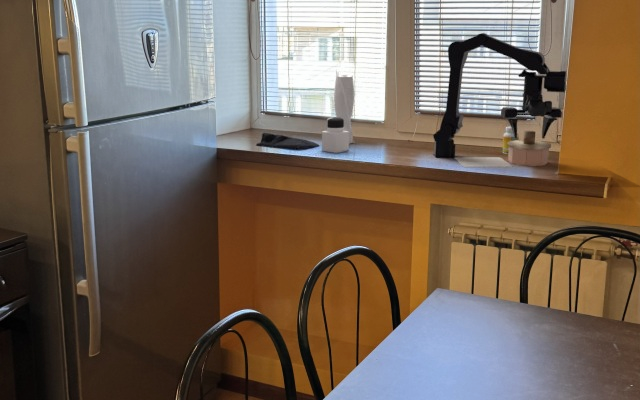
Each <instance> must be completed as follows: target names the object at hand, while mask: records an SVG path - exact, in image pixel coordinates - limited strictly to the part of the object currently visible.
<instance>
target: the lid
mask: <svg viewBox="0 0 640 400" xmlns="http://www.w3.org/2000/svg"><path fill="white" fill-rule="evenodd" d="M523 132H524V133H523V139H520V140H515V141H509V142H507V146H509V147H512V148H517V149H527V150H542V149H549V150H550V149H551V147H552V143H549V142H546V141H543V140H542V141H541V140H536V131H534V130H524V131H523Z"/></svg>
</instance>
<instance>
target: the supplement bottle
mask: <svg viewBox="0 0 640 400" xmlns="http://www.w3.org/2000/svg"><path fill="white" fill-rule="evenodd" d="M502 139H503V140H502V153H503V154H506V155H508V154H509V146H507V142H509V141H515V140H519V139H520V135H519V133H518V132H517V139H515V138H514V135H513V131H512V128H511V126H505V133H503V136H502Z"/></svg>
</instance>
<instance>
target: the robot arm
mask: <svg viewBox="0 0 640 400" xmlns="http://www.w3.org/2000/svg"><path fill="white" fill-rule="evenodd" d="M480 47H484V48H485V49H488V50H491V51H493V52H496V53H498V54H500V55H503V56H505V57H508V58H509V59H510V58H511V59H512V60H514V61H515V62H517V63H518V64H519V65H521V66H522V67H525V69H523V70H522V71H521V72H520V73H519V74H518V77H519V78H524V80H523V93H522V105H521V109H517V108H516V107H514V106H513V107H511V106H510V107H509V106H503V107H502V108H501V110H500V116H501V117H503V118H504V119H505V120H507V121H508V123H509V125H510V127H511V128H512V131H513V135H514V138H515V139H517V133H518V121H519V119H518V118H517V116H530V117H533V118H535V117H542V129H541V138H542V139H543V140H544V139H545V138H546V136H547V134H548V131H549V128H550V127H551V125H552V123H553V122H554V121H557V120H558V119H559V118H560V119H561V118H562V116H563V111H562V109H561V108H558V107H556V106H555V107H553V102H552V101H551V100H545V101H544V100H543V97H544V96H543V95H542V94H543V91H542V90H543V89H545V90H546V92H547V93H566V92H565V91H567V85H566V81H567V71H566V70H561V71H559V70H553V71H552V70H550V68H549V67H548V65H547V64H546V63H545V62H546V59H545V55H544V54H543V53H541V52H539V51H535V50H531V49H525V48H521V47H518V46H515V45H512V44H510V43H508V42H505V41H503V40H500V39H498V38H496V37H493V36H490V35H489V34H488V33H485V32H482V33H478V34H477V35H475V36H473V37H469V38H468V39H464V40H456V41H452V42H451V43H450V44H449V45H448V47H447V55H448V58H447V59H448V63H449V64H448V65H449V77H448V88H447V97H446V107H445V111H444V114H443V117H442V119H441V121H440V122H441V123H440V126H439V129H438V130H437V131H436V132H435V133H434V134H433V135H432V136H433V140H434V145H433V154H432V156H434V158H436V159H453V158H454V159H455V156H456V144H455V140H454V139H455V136H456V135H457V134H458V133H459V132H460V130H461V128H464V127H463V120H464V114H461V115H460V110H459V109H460V100H461V89H462V83H463V82H462V80H463V72H464V67H465V65H466V62H467V59H468V55H469V53H470V52H471V51H473V50H475V49H478V48H480ZM527 70H529V71H527ZM537 73H538V74H537Z"/></svg>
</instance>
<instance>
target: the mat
mask: <svg viewBox="0 0 640 400" xmlns="http://www.w3.org/2000/svg"><path fill="white" fill-rule="evenodd" d="M454 160H455V161H457V162H458V164H460V165H461V166H462V167H463V168H496V167H497V168H503V167H505V168H512V167H514V166H513V165H512V164H511V163H510V162H507V161H506V160H504V159H503V158H502V157H500V156H498V157H497V156H496V157H495V156H494V157H491V156H490V157H489V156H487V157H480V156H479V157H474V156H473V157H469V156H468V157H454Z"/></svg>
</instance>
